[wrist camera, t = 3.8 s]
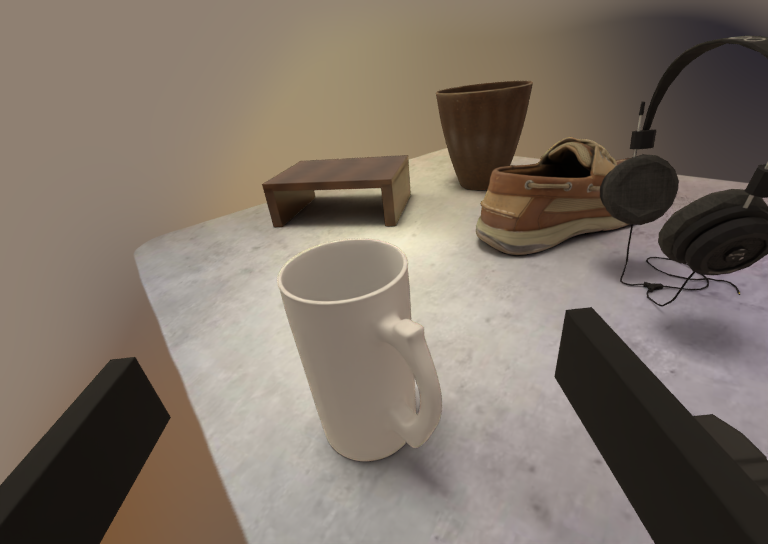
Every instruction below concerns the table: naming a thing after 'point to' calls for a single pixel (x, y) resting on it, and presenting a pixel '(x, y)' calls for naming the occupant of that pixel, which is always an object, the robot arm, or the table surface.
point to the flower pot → (482, 127)
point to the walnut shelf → (339, 184)
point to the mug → (361, 346)
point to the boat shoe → (547, 199)
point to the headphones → (700, 218)
